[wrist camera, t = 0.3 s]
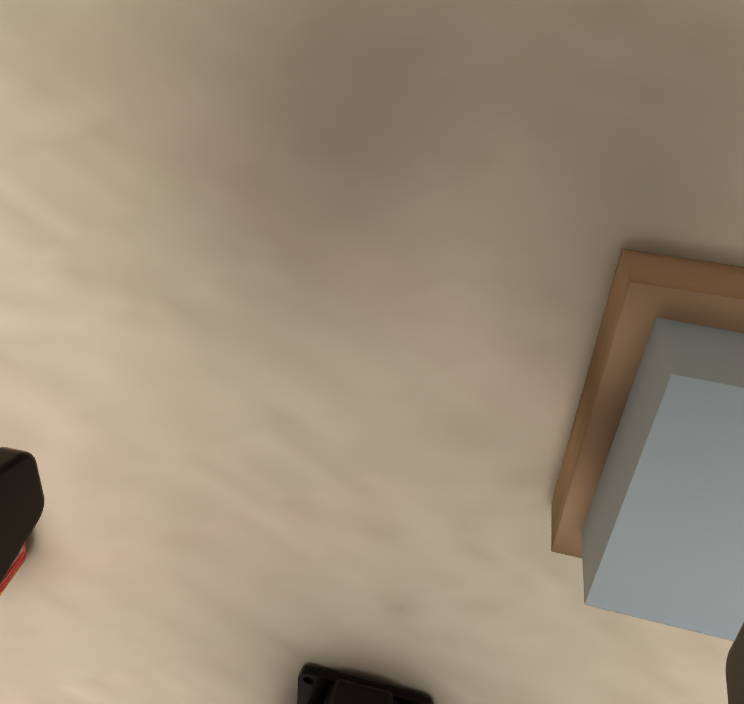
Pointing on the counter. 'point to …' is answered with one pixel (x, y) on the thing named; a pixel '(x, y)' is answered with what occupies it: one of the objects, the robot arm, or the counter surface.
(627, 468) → the block
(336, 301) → the counter surface
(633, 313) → the tower base
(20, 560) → the soda can
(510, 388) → the counter surface
